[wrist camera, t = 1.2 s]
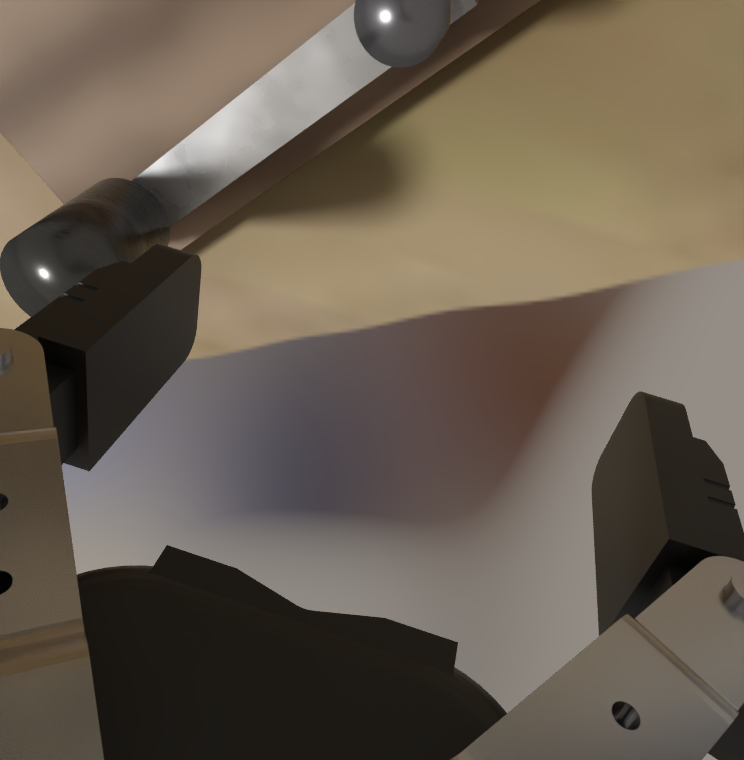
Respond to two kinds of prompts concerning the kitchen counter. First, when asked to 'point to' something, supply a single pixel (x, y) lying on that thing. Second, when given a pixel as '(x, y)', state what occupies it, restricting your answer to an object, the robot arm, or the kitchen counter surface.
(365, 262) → the kitchen counter surface
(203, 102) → the press base
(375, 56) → the lever
